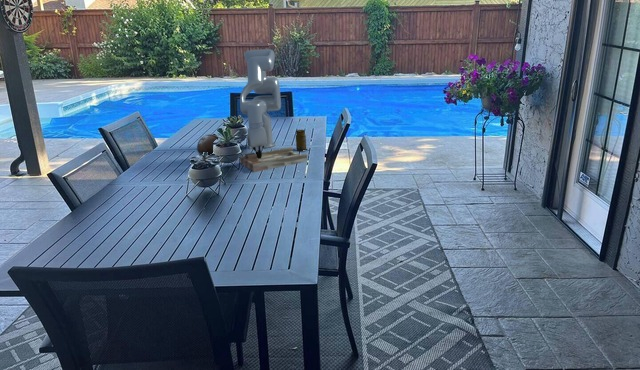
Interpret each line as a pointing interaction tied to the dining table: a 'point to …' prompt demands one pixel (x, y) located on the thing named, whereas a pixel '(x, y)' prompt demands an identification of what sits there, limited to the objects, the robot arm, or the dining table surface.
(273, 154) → the trap track
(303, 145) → the condiment
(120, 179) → the dining table surface
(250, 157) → the walnut block
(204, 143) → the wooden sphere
